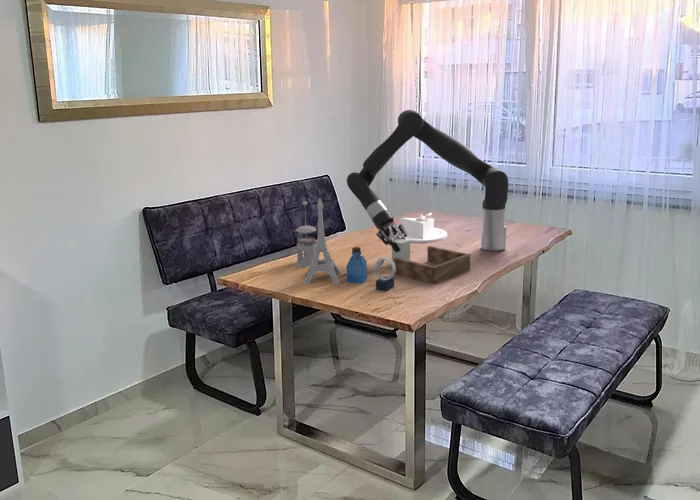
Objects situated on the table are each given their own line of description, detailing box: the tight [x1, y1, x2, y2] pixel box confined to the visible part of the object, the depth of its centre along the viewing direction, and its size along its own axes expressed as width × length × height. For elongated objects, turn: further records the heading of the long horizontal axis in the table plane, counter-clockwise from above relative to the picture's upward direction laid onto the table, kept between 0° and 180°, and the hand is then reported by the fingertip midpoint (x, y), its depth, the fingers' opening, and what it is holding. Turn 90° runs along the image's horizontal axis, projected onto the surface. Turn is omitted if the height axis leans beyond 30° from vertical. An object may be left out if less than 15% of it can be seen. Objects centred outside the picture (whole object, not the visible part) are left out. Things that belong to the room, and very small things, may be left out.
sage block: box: [391, 239, 411, 261], centre depth 262 cm, size 5×5×8 cm
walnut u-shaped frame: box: [394, 245, 471, 285], centre depth 252 cm, size 19×22×6 cm
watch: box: [372, 256, 396, 292], centre depth 235 cm, size 6×8×11 cm
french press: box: [294, 200, 317, 268], centre depth 265 cm, size 10×12×25 cm
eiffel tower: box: [302, 198, 342, 285], centre depth 245 cm, size 13×13×30 cm
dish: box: [393, 212, 448, 244], centre depth 303 cm, size 25×25×11 cm
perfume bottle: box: [346, 246, 368, 284], centre depth 244 cm, size 6×6×12 cm
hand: (403, 249), depth 261 cm, fingers closed on sage block, 5 cm apart
